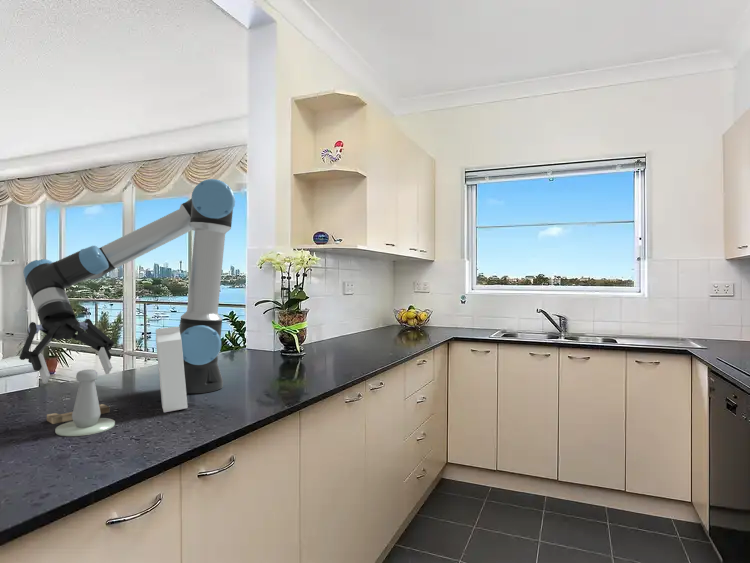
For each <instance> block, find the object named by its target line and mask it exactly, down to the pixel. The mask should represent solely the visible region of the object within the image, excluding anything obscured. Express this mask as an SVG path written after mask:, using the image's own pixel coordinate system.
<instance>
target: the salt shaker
mask: <svg viewBox="0 0 750 563" xmlns="http://www.w3.org/2000/svg"><path fill="white" fill-rule="evenodd" d="M98 374H99V373H98V371H97V370H95V369H82V370H79V371H78V372H77V373H76V377H75V378H76V379H75V380H76V381H77V382H79V383H78V388H77V393H76V397H75V400H74V406H73V409H72V412H73V413H72V419H73V420H72V421H74V423H75V425H76V427H79V428H86V427H92V426H94V425H96V424H97V422H98V420H99V418H101V415H102V414H101V413H100V407H99V405H100V402H99V397H98V392H97V386H96V380H98Z"/></svg>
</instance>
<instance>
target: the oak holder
mask: <svg viewBox="0 0 750 563" xmlns="http://www.w3.org/2000/svg"><path fill="white" fill-rule="evenodd" d="M99 407H100V413H101V414H100V415H103V414H107V413H108V414H109V413H110V406H108V405H106V404H104V403H102V404H99ZM72 413H73V411H70V412H66V413H65V412H64V413H61V414H59V413H57V412H56V413H54V412H53V413H49V414H46V422H48V423H50V424H52V425H55V424H60V423H64V422H65V423H66V422H71V421H73V419H72Z"/></svg>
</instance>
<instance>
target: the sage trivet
mask: <svg viewBox="0 0 750 563" xmlns="http://www.w3.org/2000/svg"><path fill="white" fill-rule="evenodd" d="M115 425H116V420H114V419H111V418H107V417H99V420H98V422H97V424H96V425H94V426H92V427H86V428H79V427H76V425H75V423H74V421H73V420H70V421H66V422H65V423H64V422H63V423H62V424H60V425H58V426H56V427H55V428H54V429H55V434H56V435H58V436H61V437H82V436H84V437H85V436H91V435H95V434H99V433H103V432H106V431H109V430H111V429H112V428H114V427H115Z"/></svg>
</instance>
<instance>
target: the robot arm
mask: <svg viewBox="0 0 750 563" xmlns="http://www.w3.org/2000/svg"><path fill="white" fill-rule="evenodd" d="M235 205H236V197H235V194H234V191H233V189H232V188H231V187H230V186H229V184H227V183H226V182H224V181H222V180H219V179H216V178H209V179H208V178H207V179H205V180H202V181H200V182H199V183H198V184H197V185H195V187H194V189H193V190H192V192H191V198H189V200H187V201H185V202H183V203H181V204H180V206H179V209H177V210H174V211H173V212H170V213H168V214H166V215H164V216H162V217H160V218H158V219H156V220H154V221H152V222H150V223H148V224H145V225H143V226H142V227H139V228H138V229H136V230H133V231H131V232H129V233H127V234H125V235H123V236H120V237H119V238H117V239H115V240H113V241H111V242H108V243H107V244H105V245H102V246H100V247H98V245H97V246H96V245H91V246H88V247H85V248H81V249H80V250H78V251H77V252H73V253H72V254H70V255H68V256H65V257H63V258H61V259H59V260H56V261H51V260H48V259H44V258H43V259H39V260H38V259H35V260H32V261H30V262H28V263H27V264H26V265H25V266H24V268H23V276H24V283H25V285H26V287H27V290H28V293H29V294H30V297H31V301H32V303H33V306H34V308H35V311H36V314H37V317H38V320H39V323H40V324H37V323H36V322H34V321H31V322H30V323H29V324H28V328H27V337H26V340H25V342H24V345H23V347H22V350H21V352H20V355H19V360H22V361H24V360H28V363H29V364H31V366H32V369H33V370H34V371H35V372H37V371H38V372H39V375H40V378H41V381H42V384H43V385H44V384H45V385H46V384H48V382H49V380H50V377H51V374H50V370H49V368H48V366H47V362H46V360H45V359H46V358H45V357H44V354H43V351H44V350H45V348H46V347H47V346H48V345H49V344H50V343H51V341H53V339H54V340H56V341H61V340H70V339H72V340H74V341H79V342H81V343H83V344H85V345H86V346H88V347H89V348H92V349H94V350H96V351H97V356H98V359H99V361H100V363H101V366H102V369H103V371H104V374H105V375H109V374H110V372H111V370H112V368H113V366H112V363H111V359H112V354H111V352H110V351H111V350H112V347H113V346H114V345H115V341H114V340H112V339H111V338H110V337H109V336H107V335H106V334H105V333H104V332H103V331H101V330H100V329H99V328H98V327H96V325H95V324H94V323H93V322H92V320H91V319H90V318H86V319H85V321H80V322H79V321H78V320H77V317H76V315H75V314H76V313H75V312H74V309H73V306H72V305H71V302H70V300H69V296H68V294H67V291H66V290H65V289H68V288H70V287H72V286H74V285H76V284H78V283H81V282H83V281H86V280H98V279H100V278H103V277H104V276H106V275H107V274H109V273H110V272H113V271H114V270H116V269H118V268H119V267H121V266H124V265H126V264H128V263H129V262H132V261H134V260H136V259H138V258H140V257H142V256H144V255H145V254H147V253H150V252H151V251H153V250H156V249H158V248H159V247H162V246H163V245H166V244H167V243H169V242H171V241H174V240H175V239H177V238H180V237H181V236H184V235H185V234H187V233H189V232H191V231H193V232H194V236H193V244H192V247H193V248H192V257H191V265H190V266H191V267H190V274H189V275H190V277H189V288H188V296H187V297H188V298H187V306H186V311H185V312H184V313H183V314H182V315H181V316H180V320H179V325H178V327H179V329H180V335H181V340H182V351H183V362H184V373H185V384H186V394H203V393H204V394H205V393H211V392H215V391H219V390H221V389H222V388H223V387H224V380H223V376H222V373H221V369H220V367H219V363H218V358H219V356H218V355H219V353H220V352H221V349H222V328H223V327H222V326H223V317H221V315H220V314H219V313H218V312H219V301H220V294H221V293H220V292H221V280H222V270H223V262H224V260H223V259H224V249H225V241H226V234H227V233H228V232H229V231H230V230H232V222H233V213H234V207H235ZM40 331H41V332H42V333H44V335H45V336H44V337H43V338H42V339H41V341H40V342H38V344H37V345H36V346H35V348H34V349H33V350H32V351H30V349H31V346H32V345H33V344H32V343H33V341H34V338H35V336H36V335H37V334H39V332H40ZM76 333H77V334H76Z"/></svg>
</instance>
